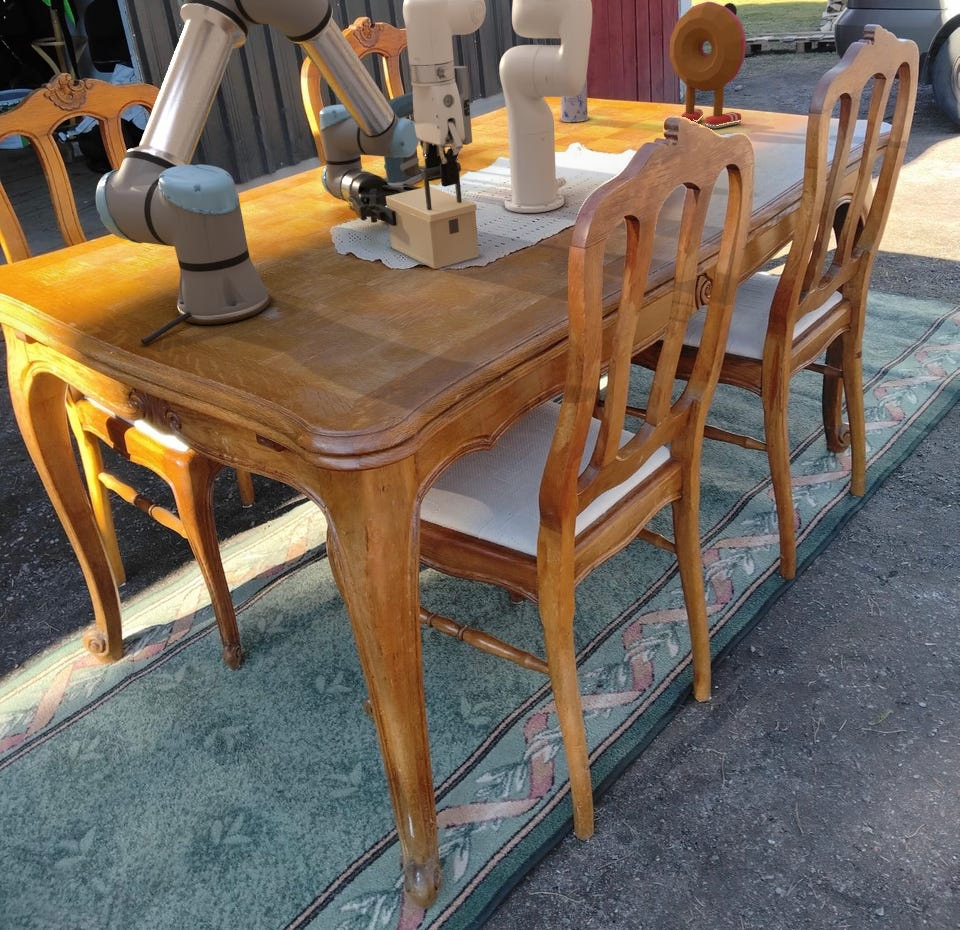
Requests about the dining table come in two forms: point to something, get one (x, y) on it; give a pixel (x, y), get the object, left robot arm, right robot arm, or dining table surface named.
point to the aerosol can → (575, 107)
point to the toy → (708, 56)
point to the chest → (435, 238)
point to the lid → (432, 199)
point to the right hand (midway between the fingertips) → (442, 181)
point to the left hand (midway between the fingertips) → (418, 212)
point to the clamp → (407, 167)
